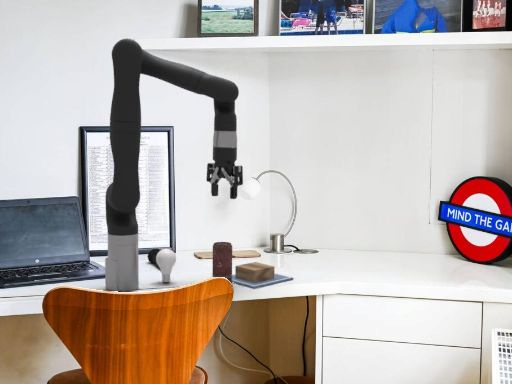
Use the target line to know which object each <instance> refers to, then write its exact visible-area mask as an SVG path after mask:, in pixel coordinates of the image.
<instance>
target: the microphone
mask: <svg viewBox="0 0 512 384" xmlns="http://www.w3.org/2000/svg"><path fill="white" fill-rule="evenodd" d="M160 250H161V249H159V248H152V249H150V251H148V254H147V259H148V262H149V263H151V264H155V266H156V267H158V269H160V267H159V266H158V264H157V262H156V256H157V254H158V252H159V251H160Z"/></svg>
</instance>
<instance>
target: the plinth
mask: <svg viewBox="0 0 512 384" xmlns="http://www.w3.org/2000/svg"><path fill="white" fill-rule="evenodd" d="M274 273H275V265H269V264H265V263H261V262H256V261H253V262H248V263H243V264H238V265H235V272H234V275H235V278H238V279H242V280H245V281H249V282H253V283H257V282H261V281H265V280H270V279H274Z"/></svg>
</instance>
